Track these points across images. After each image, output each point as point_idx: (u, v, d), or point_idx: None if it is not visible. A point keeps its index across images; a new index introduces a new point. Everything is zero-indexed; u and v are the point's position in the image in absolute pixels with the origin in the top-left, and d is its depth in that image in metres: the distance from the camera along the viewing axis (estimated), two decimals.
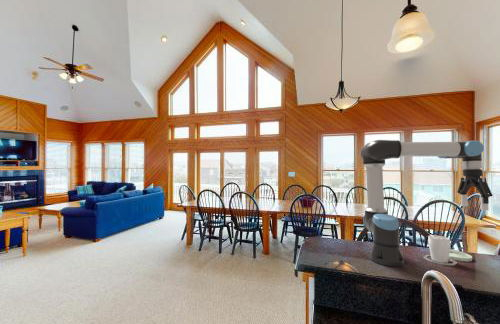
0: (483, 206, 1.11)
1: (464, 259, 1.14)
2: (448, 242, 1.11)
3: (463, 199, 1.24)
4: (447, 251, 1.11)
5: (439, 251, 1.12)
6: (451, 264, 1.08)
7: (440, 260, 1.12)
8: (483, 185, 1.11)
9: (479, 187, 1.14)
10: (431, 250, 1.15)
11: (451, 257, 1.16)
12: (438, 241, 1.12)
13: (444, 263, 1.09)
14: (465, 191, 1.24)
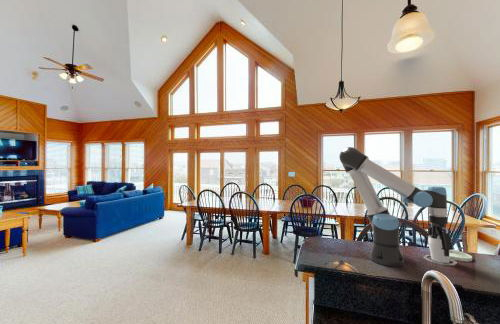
0: (444, 258, 1.10)
1: (464, 259, 1.14)
2: None
3: None
4: None
5: (439, 251, 1.12)
6: (451, 264, 1.08)
7: (440, 260, 1.12)
8: (445, 237, 1.09)
9: (442, 237, 1.12)
10: (431, 250, 1.15)
11: (451, 257, 1.16)
12: (438, 241, 1.12)
13: (444, 263, 1.09)
14: None
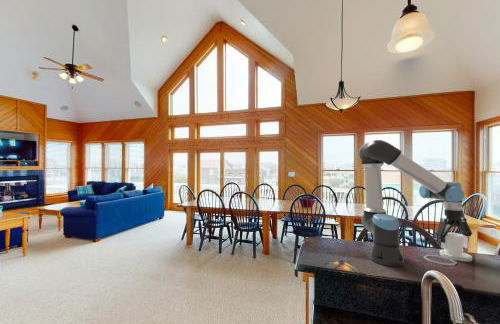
0: (442, 244, 1.20)
1: (464, 259, 1.14)
2: (452, 237, 1.17)
3: None
4: (451, 246, 1.18)
5: None
6: (451, 264, 1.08)
7: (446, 253, 1.20)
8: (440, 225, 1.21)
9: None
10: None
11: (451, 257, 1.16)
12: None
13: (444, 263, 1.09)
14: (463, 232, 1.22)
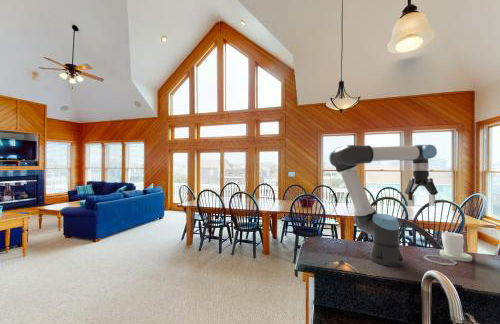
0: (410, 202, 1.31)
1: (464, 259, 1.14)
2: (452, 237, 1.17)
3: (430, 198, 1.32)
4: (451, 246, 1.18)
5: (444, 244, 1.21)
6: (451, 264, 1.08)
7: (446, 253, 1.20)
8: (408, 184, 1.31)
9: (413, 186, 1.31)
10: None
11: (451, 257, 1.16)
12: (442, 234, 1.22)
13: (444, 263, 1.09)
14: (430, 191, 1.32)
